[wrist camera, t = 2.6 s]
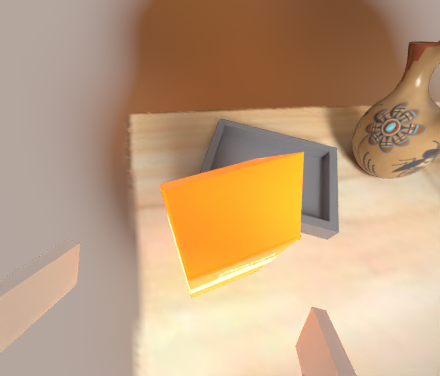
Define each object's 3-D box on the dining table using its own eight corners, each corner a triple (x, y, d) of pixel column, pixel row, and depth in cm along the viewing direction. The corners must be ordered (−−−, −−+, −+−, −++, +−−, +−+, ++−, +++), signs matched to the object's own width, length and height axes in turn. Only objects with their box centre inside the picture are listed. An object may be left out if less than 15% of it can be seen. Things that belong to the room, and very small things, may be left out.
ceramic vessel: (324, 131, 43) (450, -54, 22) (364, 126, 45) (518, -49, 24) (369, 207, 36) (632, 39, 14) (415, 199, 37) (713, 37, 16)
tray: (327, 159, 40) (336, 148, 37) (327, 239, 32) (338, 232, 30) (218, 131, 41) (219, 118, 38) (192, 202, 33) (192, 193, 31)
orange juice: (256, 272, 29) (345, 206, 12) (191, 299, 27) (183, 265, 10) (233, 219, 33) (276, 107, 15) (173, 239, 30) (144, 134, 13)
